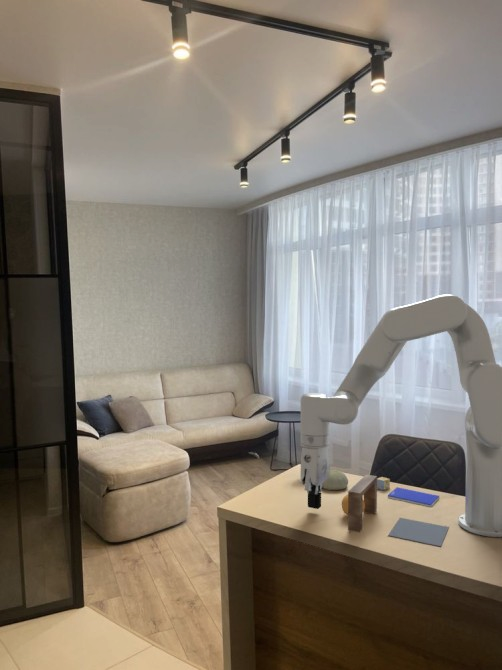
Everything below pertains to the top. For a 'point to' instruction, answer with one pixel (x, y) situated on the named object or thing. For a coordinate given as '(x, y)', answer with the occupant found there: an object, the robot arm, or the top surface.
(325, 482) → the sea urchin shell
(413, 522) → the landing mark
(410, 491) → the hard drive
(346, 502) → the ball
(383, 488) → the alphabet block
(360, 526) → the bridge
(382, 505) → the top surface
